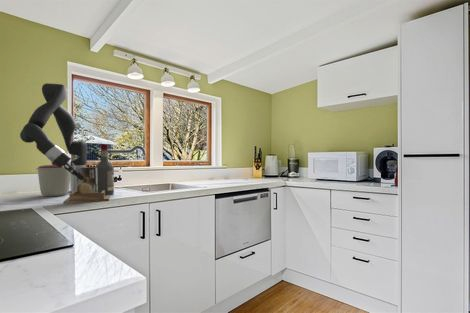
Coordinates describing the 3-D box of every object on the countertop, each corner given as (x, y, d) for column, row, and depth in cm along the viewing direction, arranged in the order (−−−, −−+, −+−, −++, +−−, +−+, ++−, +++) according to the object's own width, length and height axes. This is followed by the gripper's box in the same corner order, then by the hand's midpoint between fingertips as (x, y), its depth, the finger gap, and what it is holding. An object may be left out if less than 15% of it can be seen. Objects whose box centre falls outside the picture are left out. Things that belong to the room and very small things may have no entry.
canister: (78, 194, 166) (78, 159, 166) (44, 198, 151) (44, 160, 151) (64, 192, 176) (63, 159, 177) (30, 196, 162) (30, 160, 162)
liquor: (94, 196, 160) (93, 144, 160) (98, 194, 169) (98, 144, 169) (111, 195, 162) (110, 144, 162) (114, 193, 170) (114, 144, 171)
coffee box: (98, 196, 150) (98, 167, 151) (96, 198, 144) (96, 167, 144) (79, 197, 148) (79, 167, 148) (76, 199, 142) (76, 167, 142)
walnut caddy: (68, 198, 149) (68, 191, 149) (109, 196, 157) (109, 189, 157) (63, 203, 135) (63, 195, 135) (108, 200, 142) (108, 192, 142)
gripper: (61, 151, 135) (88, 174, 140) (66, 151, 148) (90, 172, 153) (48, 162, 133) (76, 185, 137) (54, 161, 146) (79, 182, 151)
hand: (83, 178), depth 145 cm, fingers open, 8 cm apart
